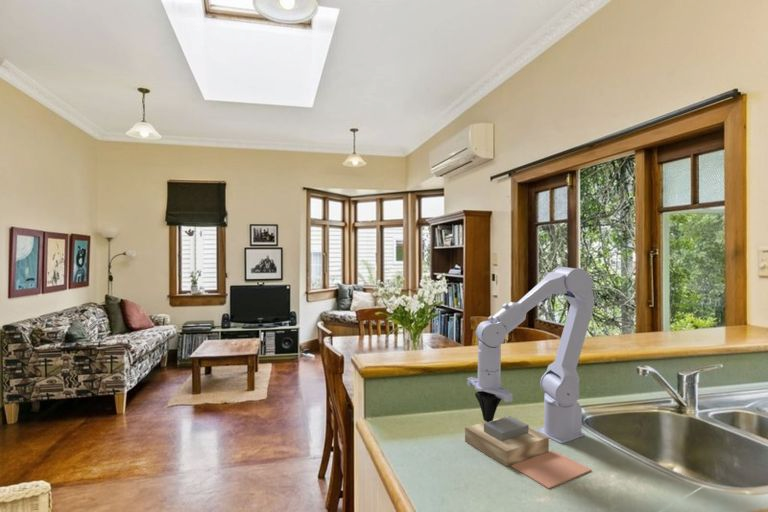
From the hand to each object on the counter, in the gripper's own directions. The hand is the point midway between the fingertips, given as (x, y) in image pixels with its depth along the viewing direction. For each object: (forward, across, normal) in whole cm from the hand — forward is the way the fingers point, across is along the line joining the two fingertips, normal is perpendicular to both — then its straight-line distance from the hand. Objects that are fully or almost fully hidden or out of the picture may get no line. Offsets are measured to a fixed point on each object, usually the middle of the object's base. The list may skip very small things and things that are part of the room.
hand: (488, 420), depth 111 cm
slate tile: (+1, +6, 0) cm, 6 cm away
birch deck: (+4, +6, 0) cm, 7 cm away
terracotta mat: (+4, +19, +1) cm, 19 cm away
